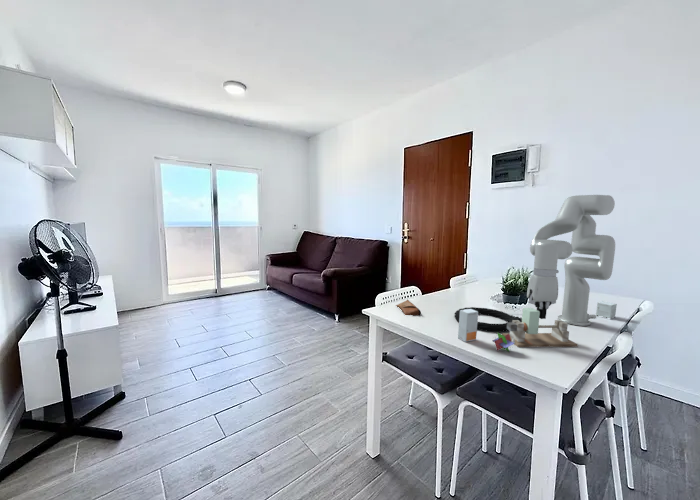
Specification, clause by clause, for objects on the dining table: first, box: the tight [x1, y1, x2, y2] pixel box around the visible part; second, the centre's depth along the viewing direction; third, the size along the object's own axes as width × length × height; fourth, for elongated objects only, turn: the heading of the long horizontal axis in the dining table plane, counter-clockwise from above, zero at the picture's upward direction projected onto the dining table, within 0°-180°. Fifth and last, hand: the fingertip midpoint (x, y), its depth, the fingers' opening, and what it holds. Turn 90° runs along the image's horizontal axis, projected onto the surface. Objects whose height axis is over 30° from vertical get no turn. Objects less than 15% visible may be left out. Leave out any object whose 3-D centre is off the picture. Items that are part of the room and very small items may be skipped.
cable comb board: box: [501, 319, 579, 348], centre depth 119 cm, size 25×11×8 cm, turn 93°
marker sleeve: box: [521, 307, 540, 334], centre depth 118 cm, size 4×4×9 cm
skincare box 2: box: [595, 300, 618, 319], centre depth 151 cm, size 6×6×7 cm
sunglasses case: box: [395, 299, 422, 316], centre depth 156 cm, size 18×7×7 cm
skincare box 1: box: [457, 309, 479, 343], centre depth 119 cm, size 6×4×12 cm
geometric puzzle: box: [492, 332, 515, 353], centre depth 110 cm, size 7×7×8 cm
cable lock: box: [454, 306, 522, 333], centre depth 140 cm, size 28×4×30 cm
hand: (540, 317), depth 118 cm, fingers closed
